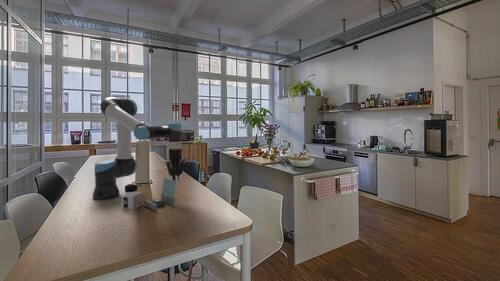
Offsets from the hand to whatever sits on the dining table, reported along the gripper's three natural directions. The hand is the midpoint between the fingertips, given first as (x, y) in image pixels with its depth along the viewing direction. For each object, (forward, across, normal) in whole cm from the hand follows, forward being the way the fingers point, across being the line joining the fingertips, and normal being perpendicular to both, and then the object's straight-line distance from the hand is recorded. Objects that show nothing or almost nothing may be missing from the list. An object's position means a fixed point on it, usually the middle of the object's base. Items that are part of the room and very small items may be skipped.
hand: (175, 186), depth 149 cm
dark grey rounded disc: (+9, -11, +1) cm, 15 cm away
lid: (0, -5, 0) cm, 5 cm away
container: (+10, -22, +10) cm, 26 cm away
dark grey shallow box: (+9, -11, 0) cm, 14 cm away
